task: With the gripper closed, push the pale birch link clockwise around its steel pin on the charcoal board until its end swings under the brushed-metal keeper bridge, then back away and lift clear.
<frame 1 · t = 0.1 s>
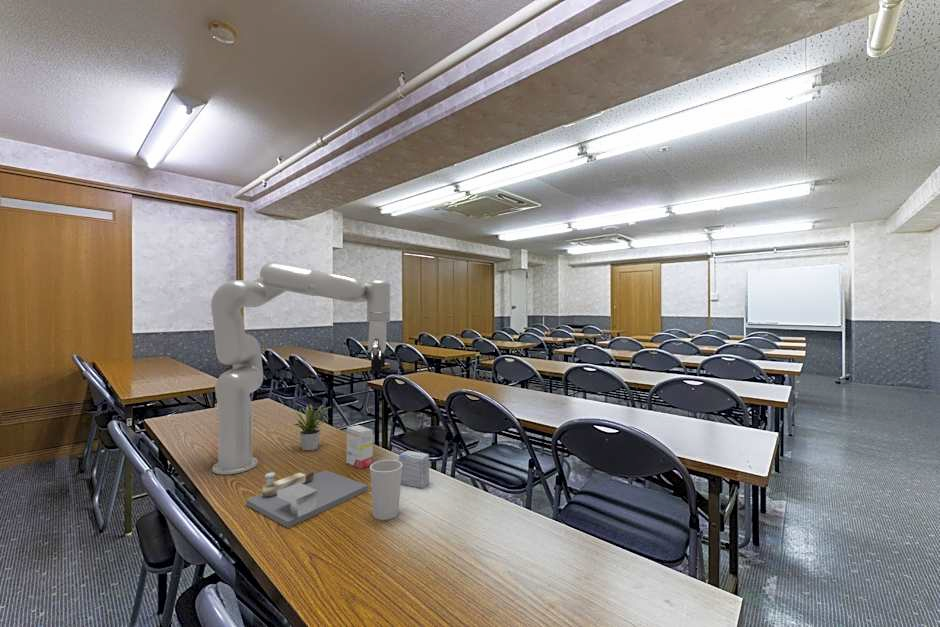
hand: (378, 369, 134), 31 cm above the table, tool pointing down, fingers open, 9 cm apart
ink box: (359, 464, 134), on the table
link: (288, 482, 112), point 3 cm above the table, hinge at 0.0°
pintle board: (309, 497, 109), on the table
medicine box: (414, 484, 119), on the table
keeper: (297, 514, 100), resting on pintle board
house plant: (313, 449, 148), on the table
cup: (386, 514, 101), on the table
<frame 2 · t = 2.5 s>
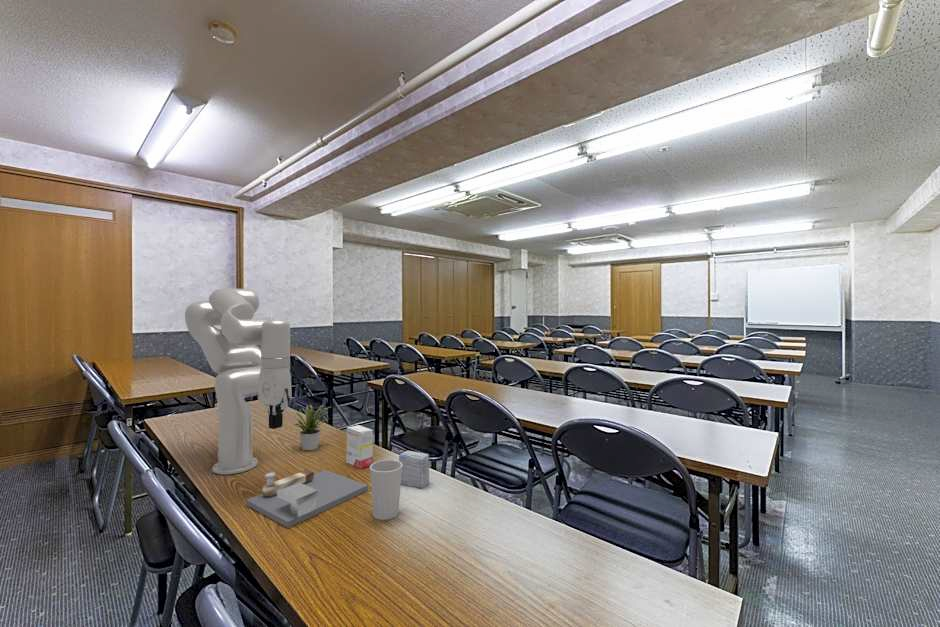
hand: (275, 427, 116), 17 cm above the table, tool pointing down, fingers closed
nothing on the table moved.
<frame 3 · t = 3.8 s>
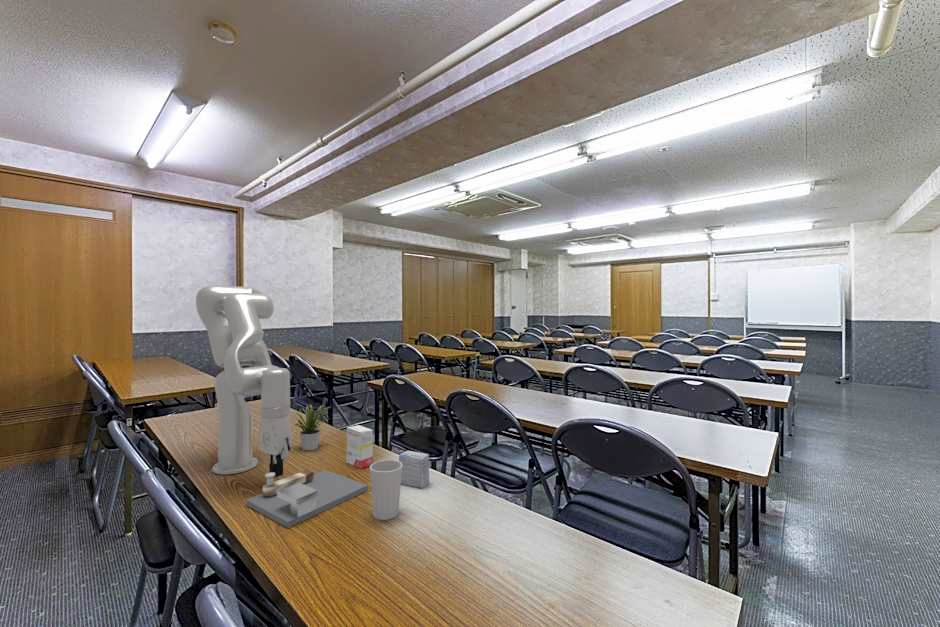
hand: (276, 475, 116), 3 cm above the table, tool pointing down, fingers closed
nothing on the table moved.
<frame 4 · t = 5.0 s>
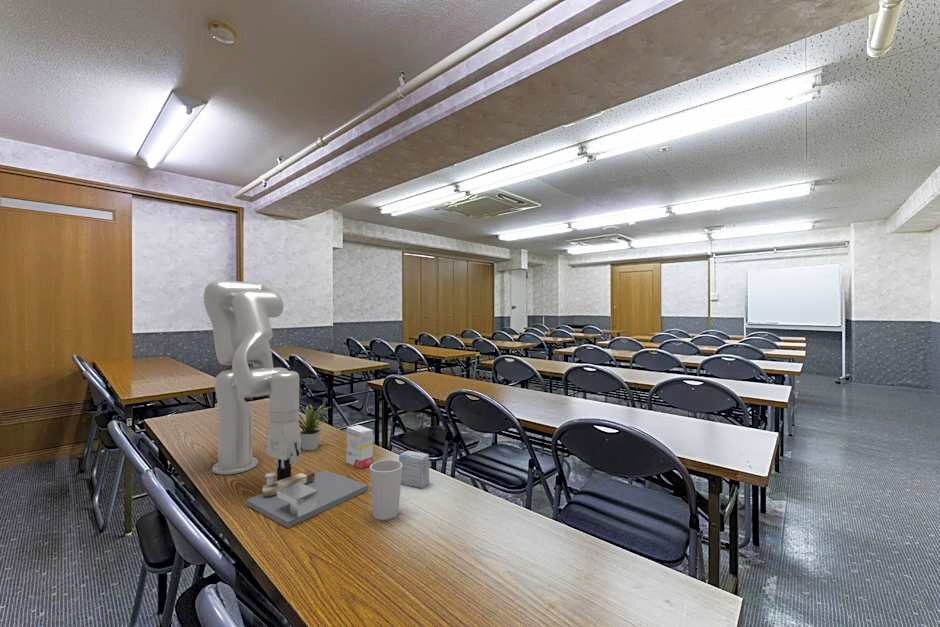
hand: (284, 480, 114), 3 cm above the table, tool pointing down, fingers closed
link: (288, 483, 111), point 3 cm above the table, hinge at 3.6°, touching gripper
everything else where it was.
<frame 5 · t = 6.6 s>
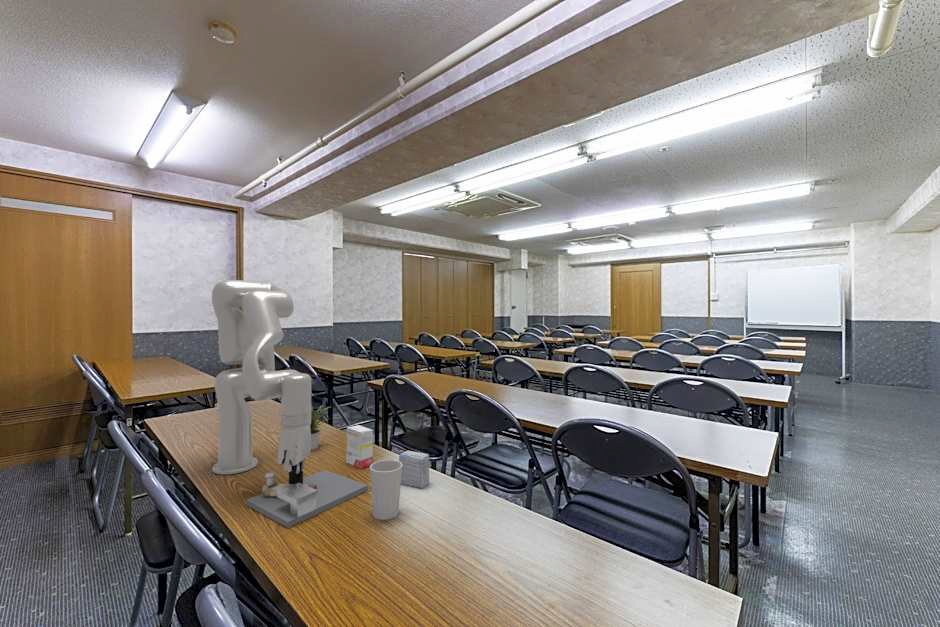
hand: (295, 486, 110), 3 cm above the table, tool pointing down, fingers closed
link: (288, 490, 107), point 3 cm above the table, hinge at 59.7°, touching gripper
everything else where it was.
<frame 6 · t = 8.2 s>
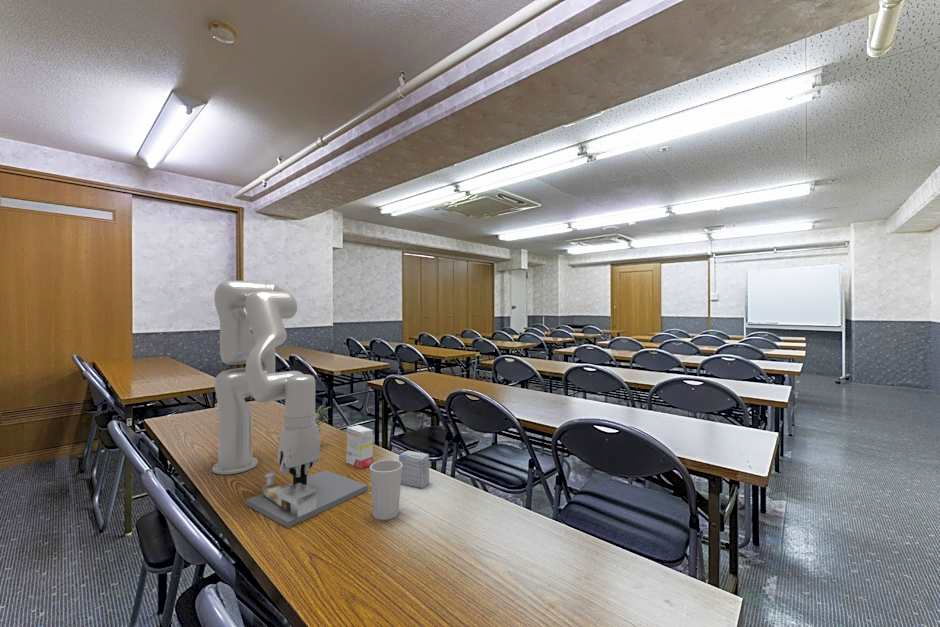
hand: (300, 489, 109), 3 cm above the table, tool pointing down, fingers closed
link: (279, 495, 104), point 3 cm above the table, hinge at 95.5°
everything else where it was.
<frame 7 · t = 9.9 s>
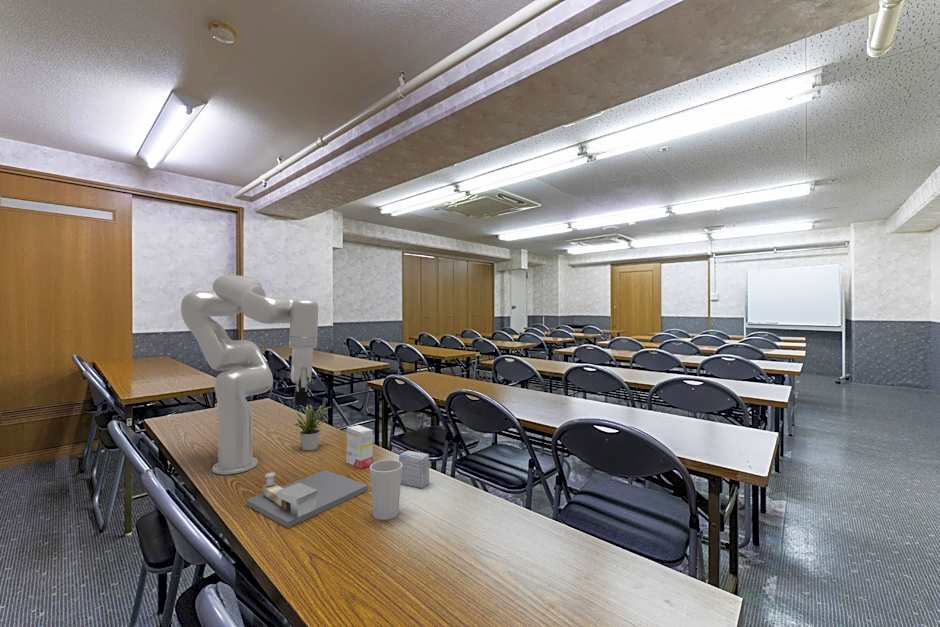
hand: (300, 404, 119), 23 cm above the table, tool pointing down, fingers closed
nothing on the table moved.
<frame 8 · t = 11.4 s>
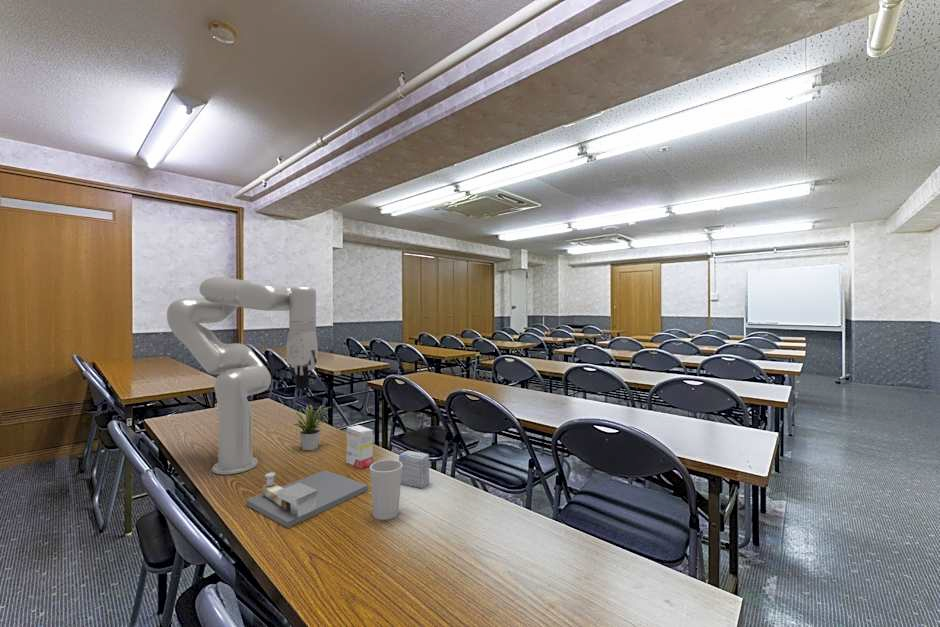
hand: (302, 387, 123), 27 cm above the table, tool pointing down, fingers closed
nothing on the table moved.
at the end: link at +96° (first picture: +0°) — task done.
